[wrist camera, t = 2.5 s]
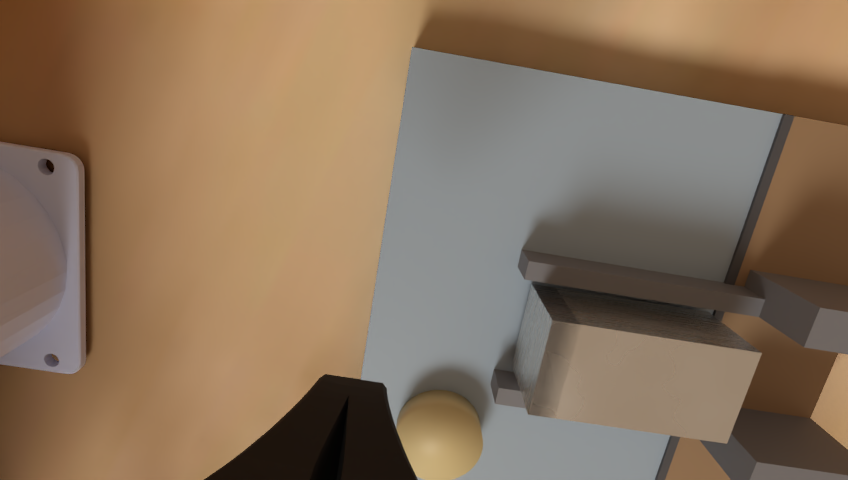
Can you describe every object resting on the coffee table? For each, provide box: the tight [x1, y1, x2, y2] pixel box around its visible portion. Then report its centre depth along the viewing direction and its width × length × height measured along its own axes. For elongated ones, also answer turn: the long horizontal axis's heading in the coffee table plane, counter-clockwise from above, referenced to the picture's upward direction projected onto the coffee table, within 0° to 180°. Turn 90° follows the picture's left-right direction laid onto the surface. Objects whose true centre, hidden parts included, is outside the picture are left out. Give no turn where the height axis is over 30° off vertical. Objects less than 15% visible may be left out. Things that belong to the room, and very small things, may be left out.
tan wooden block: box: [512, 284, 762, 444], centre depth 16 cm, size 6×3×3 cm, turn 80°
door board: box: [361, 47, 848, 480], centre depth 17 cm, size 16×16×4 cm
